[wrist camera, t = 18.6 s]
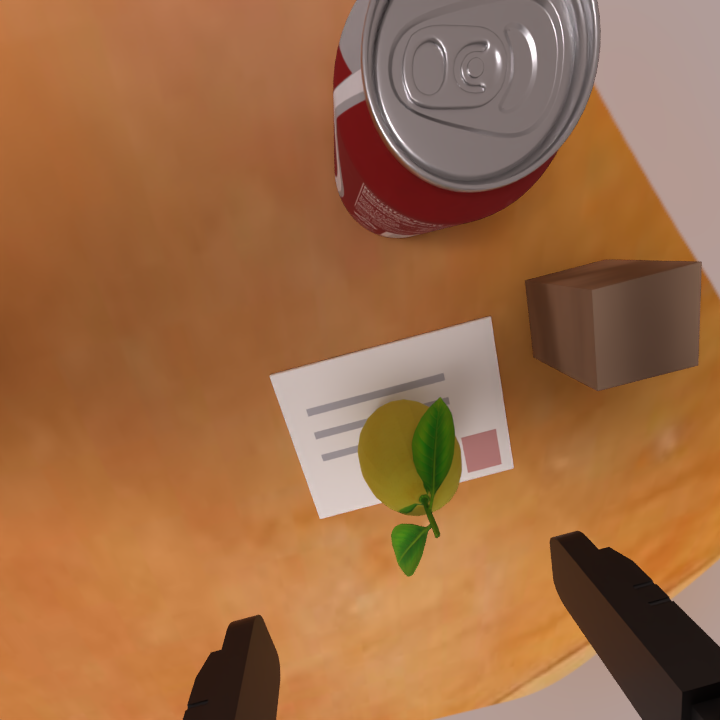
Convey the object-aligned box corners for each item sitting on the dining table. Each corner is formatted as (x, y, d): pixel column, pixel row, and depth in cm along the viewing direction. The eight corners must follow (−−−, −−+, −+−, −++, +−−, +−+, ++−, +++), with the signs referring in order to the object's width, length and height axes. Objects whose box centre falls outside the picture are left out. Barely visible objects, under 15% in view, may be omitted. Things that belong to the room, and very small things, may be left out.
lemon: (382, 482, 25) (410, 627, 15) (329, 421, 23) (323, 540, 14) (463, 427, 24) (548, 543, 14) (414, 360, 22) (473, 440, 13)
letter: (320, 516, 25) (320, 519, 25) (270, 374, 22) (269, 376, 22) (511, 465, 25) (513, 468, 25) (488, 316, 22) (491, 316, 22)
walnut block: (533, 357, 23) (597, 391, 17) (524, 280, 22) (591, 290, 16) (608, 337, 23) (698, 365, 17) (605, 259, 22) (701, 261, 16)
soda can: (454, 237, 21) (602, 215, 9) (337, 240, 20) (339, 221, 9) (460, 101, 19) (656, -140, 7) (331, 101, 18) (324, -152, 7)
